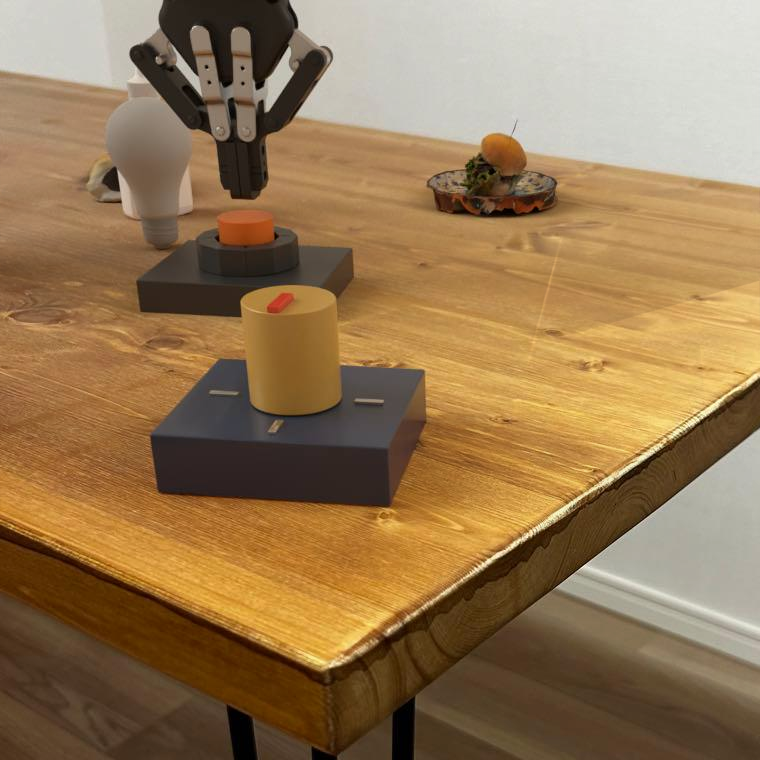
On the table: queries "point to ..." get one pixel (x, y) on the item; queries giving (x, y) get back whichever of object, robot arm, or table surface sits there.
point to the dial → (292, 349)
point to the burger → (494, 180)
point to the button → (245, 227)
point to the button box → (238, 273)
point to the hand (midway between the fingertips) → (245, 196)
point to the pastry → (104, 180)
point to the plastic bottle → (136, 89)
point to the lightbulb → (151, 162)
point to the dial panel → (292, 440)
